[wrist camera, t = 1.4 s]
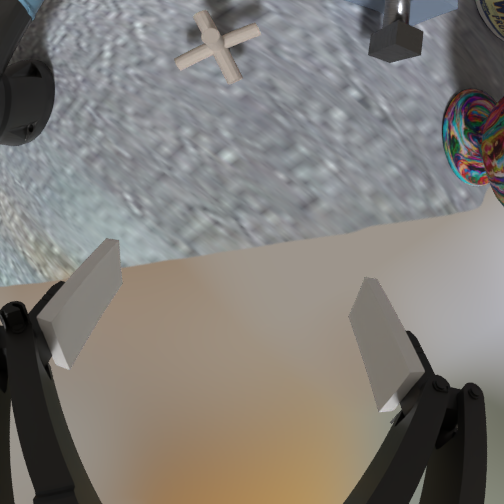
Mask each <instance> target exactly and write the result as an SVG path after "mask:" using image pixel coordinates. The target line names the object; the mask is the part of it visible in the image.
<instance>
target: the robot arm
mask: <svg viewBox="0 0 504 504" xmlns="http://www.w3.org/2000/svg"><path fill="white" fill-rule="evenodd" d="M43 1H44V0H0V144H2V145H9V146H19V145H22V144H26V143H29V142H31V141H32V140H34V139H35V138H36V137H37V136H38V135H39V134H40V133H41V132H42V130H43V129H44V127H45V126H46V124H47V122H48V119H49V117H50V114H51V111H52V107H53V101H54V83H53V78H52V75H51V72H50V70H49V69H48V67H47V66H46V65H45V64H44V63H43V62H41V61H38V60H22V61H19V62H17V63H14V64H12V65H10V66H7V65H8V63H9V61H10V59H11V57H12V55H13V53H14V51H15V49H16V48H17V46H18V44H19V42H20V40H21V38H22V37H23V35H24V33H25V31H26V30H27V28H28V26H29V25H30V23H31V21H33V20H34V19H35V14H36V13H37V11H38V9H39V8H40V6H41V5H42V3H43ZM121 285H122V274H121V262H120V249H119V240H114V239H108V238H106V239H105V240H104V241H103V242H102V243H101V245H100V246H99V247H98V248H97V249H96V250H95V251H94V252H93V253H92V254H91V255H90V256H89V257H88V258H87V259H86V260H85V261H84V262H83V263H82V264H81V266H80V267H79V268H78V269H77V270H76V271H75V272H74V273H73V274H72V275H71V277H70V278H69V279H68V280H67V281H66V282H63V281H60V282H58V283H57V284H55V285H53V286H52V287H51V288H50V289H49V290H48V291H47V293H46V294H45V295H44V296H43V297H42V299H41V300H40V301H39V302H38V303H37V304H36V305H35V306H34V308H33V309H32V310H31V311H30V312H29V314H28V313H27V310H26V307H25V305H24V304H23V303H22V302H19V301H14V302H10V303H7V304H6V305H5V306H3V307H2V309H1V310H0V320H1V322H2V324H3V326H0V504H15V503H14V496H13V488H12V478H11V466H10V440H9V439H10V436H9V435H10V407H11V401H12V407H13V412H14V418H15V423H16V427H17V432H18V436H19V440H20V444H21V448H22V452H23V456H24V459H25V462H26V466H27V469H28V472H29V475H30V478H31V481H32V483H33V486H34V489H35V494H36V496H35V497H34V499H33V503H34V504H102V503H101V501H100V499H99V497H98V495H97V493H96V491H95V490H94V488H93V486H92V484H91V481H90V479H89V477H88V475H87V473H86V471H85V469H84V466H83V464H82V462H81V460H80V457H79V455H78V453H77V450H76V448H75V445H74V442H73V440H72V437H71V434H70V432H69V429H68V426H67V423H66V420H65V418H64V414H63V411H62V408H61V405H60V401H59V398H58V394H57V391H56V387H55V383H54V380H53V375H52V371H51V367H50V365H49V363H48V362H49V360H50V358H51V357H53V359H54V361H55V363H56V365H58V366H60V367H63V368H66V369H68V370H70V369H71V367H72V365H73V364H74V362H75V360H76V358H77V356H78V355H79V353H80V351H81V349H82V347H83V346H84V344H85V343H86V341H87V339H88V338H89V336H90V334H91V332H92V331H93V329H94V327H95V326H96V324H97V322H98V321H99V319H100V318H101V316H102V314H103V313H104V311H105V310H106V308H107V307H108V305H109V303H110V302H111V300H112V299H113V297H114V296H115V294H116V293H117V291H118V290H119V288H120V287H121ZM349 319H350V322H351V325H352V328H353V331H354V334H355V336H356V340H357V343H358V346H359V349H360V352H361V355H362V358H363V361H364V364H365V368H366V371H367V374H368V377H369V380H370V384H371V387H372V391H373V394H374V397H375V401H376V404H377V408H378V412H385V411H393V410H394V409H395V408H396V407H397V406H398V404H399V403H400V405H401V408H402V410H401V411H400V412H399V413H398V414H397V415H396V416H395V418H394V419H393V420H392V421H391V422H390V423H391V424H392V423H393V422H394V423H393V425H392V427H391V429H390V431H389V432H388V434H387V436H386V438H385V440H384V442H383V443H382V445H381V447H380V449H379V450H378V452H377V454H376V455H375V457H374V459H373V460H372V462H371V464H370V465H369V467H368V468H367V470H366V471H365V473H364V475H363V476H362V478H361V479H360V481H359V482H358V484H357V485H356V486H355V488H354V489H353V491H352V492H351V494H350V495H349V496H348V498H347V499H346V500H345V502H344V503H343V504H409V502H410V500H411V498H412V496H413V494H414V492H415V490H416V488H417V486H418V484H419V482H420V479H421V477H422V475H423V473H424V470H425V468H426V466H427V468H426V474H425V479H424V484H423V489H422V493H421V498H420V502H419V504H484V498H485V488H486V472H487V432H486V416H485V415H486V414H485V403H484V396H483V392H482V390H481V389H480V387H478V386H477V385H476V384H474V383H467V384H465V386H464V387H463V388H462V389H456V388H452V387H450V385H449V383H448V382H447V381H446V379H444V378H443V377H442V376H439V375H435V374H434V372H433V370H432V368H431V365H430V363H429V361H428V359H427V357H426V355H425V354H424V351H423V349H422V347H420V346H421V345H420V343H419V341H418V340H417V338H416V337H415V336H414V335H413V334H412V333H411V332H410V331H405V329H404V327H403V325H402V323H401V322H400V320H399V318H398V316H397V314H396V312H395V310H394V309H393V307H392V305H391V303H390V301H389V299H388V297H387V296H386V294H385V292H384V290H383V289H382V287H381V285H380V283H379V282H378V280H377V279H374V278H367V277H365V278H364V281H363V283H362V286H361V288H360V291H359V293H358V296H357V298H356V301H355V303H354V305H353V308H352V310H351V312H350V314H349ZM457 427H458V428H457Z"/></svg>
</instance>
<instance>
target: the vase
mask: <svg viewBox="0 0 504 504" xmlns="http://www.w3.org/2000/svg"><path fill="white" fill-rule="evenodd" d="M443 142H444V149H445V153H446V157H447V160H448V162H449V165H450V167H451V168H452V170H453V172H454V173H455V175H456V176H457V177H458V178H459V179H460V180H461V181H463V182H464V183H466V184H468V185H471V186H483V185H486V184H488V183H490V185H491V187H492V189H493V192H494V194H495V195H496V197H497V199H498V200H499V201H500V203H501V204H502V205H503V206H504V97H503V98H502V99H501V100H500V101H499V102H498V103H496V101H495V100H494V99H493V98H492V97H491V96H490V95H488V94H487V93H485V92H483V91H481V90H478V89H467V90H464V91H462V92H460V93H459V94H458V95H456V97H455V98H454V99H453V100H452V101H451V103H450V105H449V107H448V109H447V112H446V115H445V119H444V126H443Z"/></svg>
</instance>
